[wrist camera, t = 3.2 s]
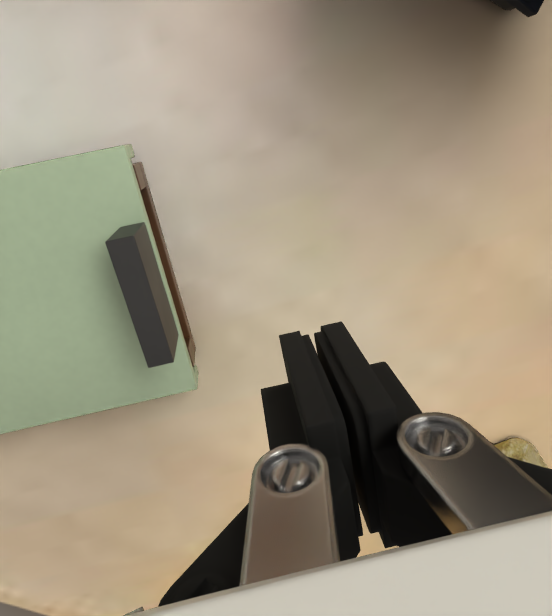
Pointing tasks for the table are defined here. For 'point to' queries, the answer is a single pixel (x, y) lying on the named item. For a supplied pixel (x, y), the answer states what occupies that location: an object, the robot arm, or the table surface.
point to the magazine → (521, 5)
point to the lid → (82, 293)
